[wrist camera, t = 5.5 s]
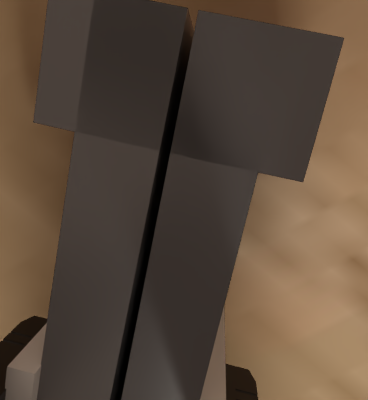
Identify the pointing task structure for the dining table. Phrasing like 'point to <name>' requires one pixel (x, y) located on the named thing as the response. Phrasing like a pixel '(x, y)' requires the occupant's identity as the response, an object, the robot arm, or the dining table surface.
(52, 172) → the dining table surface
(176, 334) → the tongs base
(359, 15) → the dining table surface
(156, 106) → the arm
